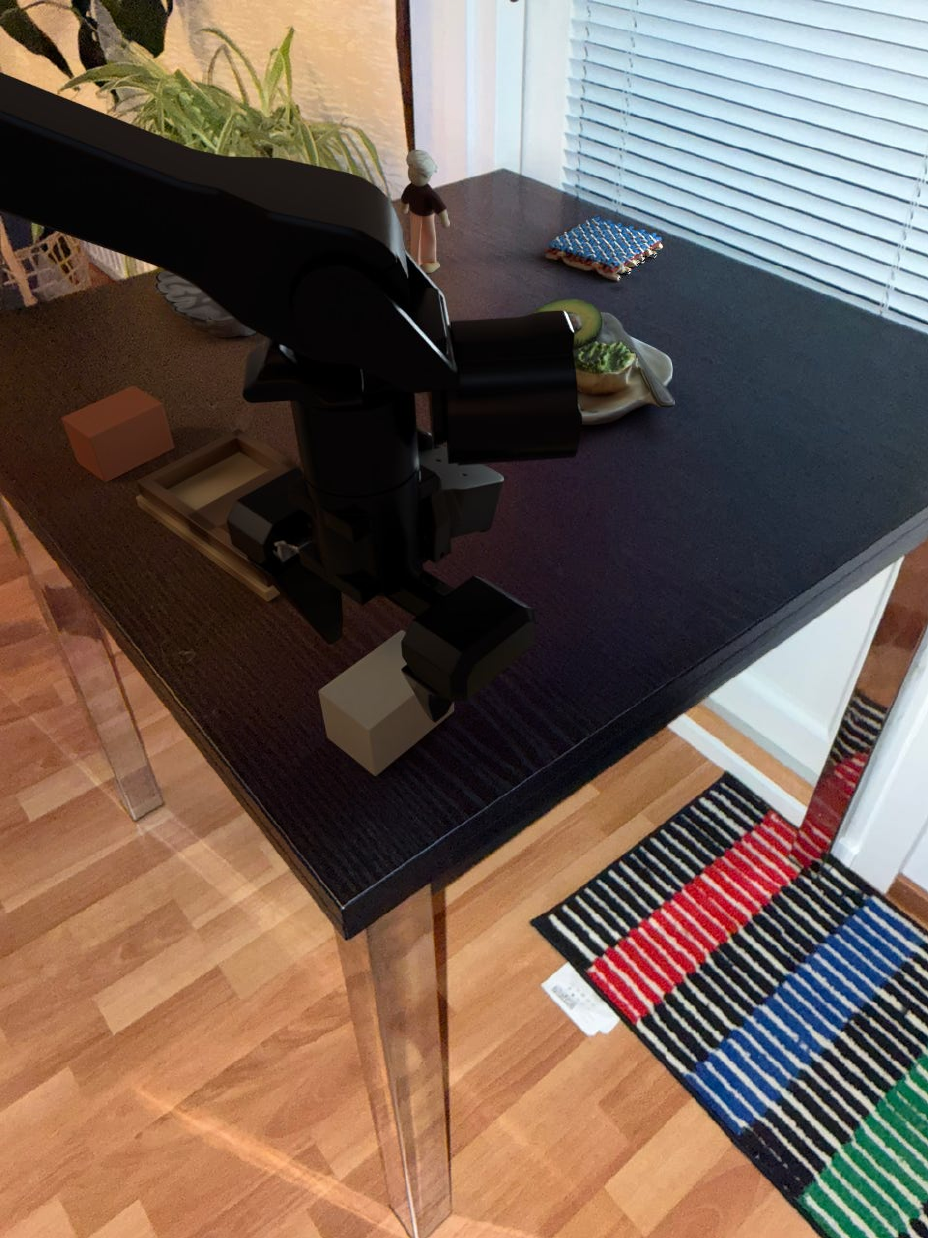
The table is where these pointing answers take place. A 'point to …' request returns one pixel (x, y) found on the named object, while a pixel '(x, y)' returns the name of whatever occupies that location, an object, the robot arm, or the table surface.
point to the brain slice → (198, 307)
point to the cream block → (375, 709)
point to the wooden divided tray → (214, 498)
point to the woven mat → (604, 247)
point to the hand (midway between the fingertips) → (384, 676)
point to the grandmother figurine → (423, 209)
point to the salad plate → (612, 365)
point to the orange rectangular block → (118, 433)
